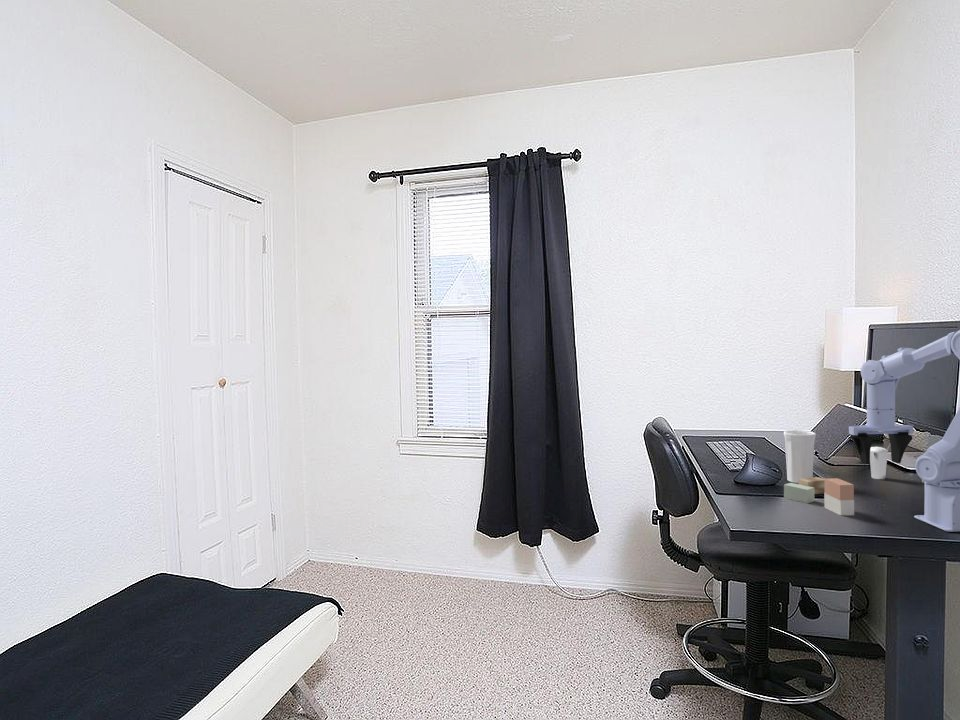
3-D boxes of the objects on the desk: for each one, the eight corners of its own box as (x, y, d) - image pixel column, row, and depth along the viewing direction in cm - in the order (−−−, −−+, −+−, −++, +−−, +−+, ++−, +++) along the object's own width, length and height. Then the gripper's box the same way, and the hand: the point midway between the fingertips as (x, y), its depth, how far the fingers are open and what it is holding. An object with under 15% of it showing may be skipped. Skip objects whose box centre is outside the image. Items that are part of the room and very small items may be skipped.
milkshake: (894, 480, 158) (894, 445, 158) (873, 480, 159) (873, 445, 159) (886, 476, 163) (886, 442, 162) (865, 475, 164) (865, 442, 163)
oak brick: (817, 490, 152) (817, 477, 151) (827, 493, 148) (827, 480, 148) (798, 492, 150) (798, 478, 150) (807, 495, 147) (807, 481, 147)
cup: (786, 485, 157) (786, 434, 156) (781, 477, 164) (780, 429, 164) (819, 486, 154) (819, 435, 154) (812, 479, 162) (812, 430, 161)
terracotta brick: (853, 500, 130) (853, 484, 130) (840, 500, 130) (840, 485, 130) (837, 492, 136) (837, 478, 136) (824, 493, 136) (824, 478, 136)
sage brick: (814, 501, 142) (814, 487, 142) (807, 503, 140) (807, 489, 140) (790, 496, 147) (790, 482, 147) (784, 498, 145) (783, 484, 145)
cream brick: (854, 515, 131) (854, 500, 130) (840, 515, 130) (840, 500, 130) (837, 507, 136) (837, 492, 136) (824, 507, 136) (824, 493, 136)
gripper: (898, 405, 142) (898, 458, 143) (841, 407, 142) (841, 460, 143) (919, 409, 135) (919, 464, 136) (859, 411, 135) (859, 466, 136)
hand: (880, 462), depth 139 cm, fingers open, 7 cm apart
